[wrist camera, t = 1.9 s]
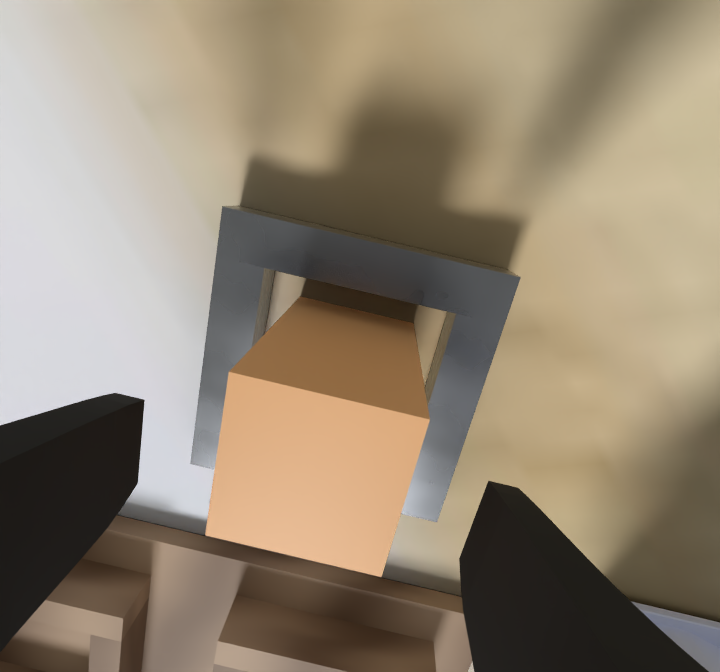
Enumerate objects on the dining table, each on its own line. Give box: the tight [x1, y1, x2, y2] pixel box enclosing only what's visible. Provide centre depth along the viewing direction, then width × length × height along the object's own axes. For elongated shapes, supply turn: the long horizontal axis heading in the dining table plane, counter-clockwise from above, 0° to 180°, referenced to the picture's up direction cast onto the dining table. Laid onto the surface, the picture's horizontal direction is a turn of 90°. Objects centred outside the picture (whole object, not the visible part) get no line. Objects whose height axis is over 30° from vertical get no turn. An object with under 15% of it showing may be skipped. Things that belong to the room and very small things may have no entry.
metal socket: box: [190, 206, 521, 522], centre depth 15 cm, size 9×9×2 cm
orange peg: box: [205, 296, 430, 577], centre depth 13 cm, size 4×4×7 cm
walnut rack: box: [0, 515, 472, 672], centre depth 19 cm, size 24×12×3 cm, turn 77°
